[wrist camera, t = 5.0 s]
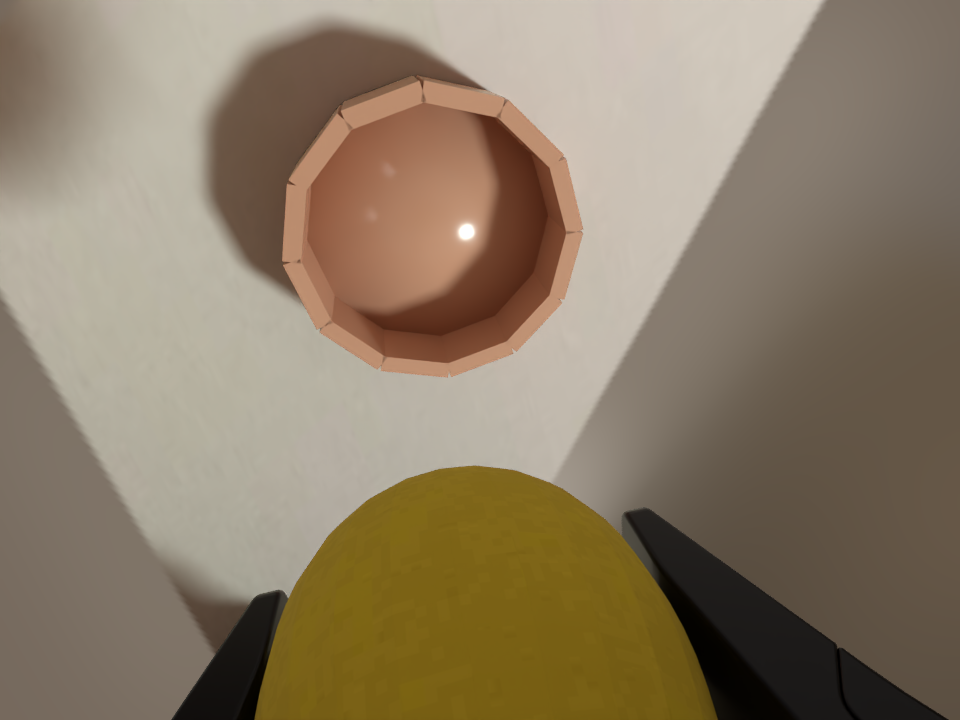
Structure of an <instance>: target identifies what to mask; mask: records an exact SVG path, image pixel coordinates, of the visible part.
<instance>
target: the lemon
mask: <svg viewBox="0 0 960 720" xmlns="http://www.w3.org/2000/svg"><path fill="white" fill-rule="evenodd" d="M255 720H718V718H717V715H716V712H715V708H714V705H713V702H712V699H711V695H710V692H709V689H708V686H707V683H706V680H705V678H704V675H703V672H702V670H701V667H700V664H699V662H698V659H697V656H696V654H695V652H694V649H693V647H692V645H691V643H690V641H689V638H688V636H687V634H686V632H685V630H684V627H683V626H682V624H681V622H680V620H679V618H678V617H677V615H676V613H675V611H674V609H673V608H672V606H671V604H670V602H669V601H668V599H667V598H666V596H665V595H664V593H663V592H662V590H661V589H660V587H659V586H658V584H657V583H656V581H655V580H654V578H653V577H652V575H651V574H650V573H649V571H648V570H647V569H646V567H645V566H644V564H643V563H642V562H641V560H640V559H639V558H638V556H637V555H636V553H635V552H634V551H633V550H632V548H631V547H630V546H629V545H628V543H627V542H626V541H625V540H624V538H623V537H622V536H621V535H620V534H619V533H618V532H617V531H616V530H615V529H614V528H613V527H612V526H611V525H610V524H609V523H608V522H607V521H606V520H605V519H604V518H603V517H601V516H600V515H599V514H597V513H596V512H595V511H593V510H592V509H590V508H589V507H588V506H586V505H585V504H583V503H582V502H581V501H579V500H578V499H576V498H575V497H574V496H572V495H571V494H569V493H568V492H566V491H565V490H563V489H562V488H560V487H558V486H555V485H553V484H551V483H549V482H546V481H544V480H541V479H538V478H535V477H532V476H530V475H527V474H524V473H521V472H518V471H514V470H508V469H500V468H491V467H482V466H465V467H455V468H444V469H438V470H435V471H431V472H428V473H424V474H421V475H418V476H414V477H411V478H407V479H405V480H403V481H402V482H400V483H398V484H396V485H394V486H392V487H390V488H388V489H387V490H385V491H383V492H381V493H379V494H377V495H375V496H374V497H372V498H370V499H369V500H367V501H366V502H365V503H364V504H362V505H361V506H360V507H359V508H358V509H357V510H356V511H354V512H353V513H352V514H351V515H350V516H349V517H347V518H346V519H345V520H344V521H343V522H342V523H341V524H340V525H339V526H338V527H337V528H336V529H335V530H334V531H333V532H332V533H331V534H330V535H329V536H328V537H327V538H326V540H325V541H324V543H323V544H322V546H321V547H320V549H319V550H318V552H317V553H316V555H315V556H314V558H313V559H312V561H311V562H310V563H309V565H308V566H307V568H306V569H305V571H304V572H303V574H302V575H301V577H300V578H299V580H298V581H297V583H296V585H295V587H294V589H293V591H292V593H291V595H290V597H289V599H288V601H287V603H286V605H285V608H284V610H283V613H282V616H281V619H280V621H279V624H278V627H277V630H276V633H275V637H274V641H273V644H272V648H271V652H270V655H269V659H268V663H267V667H266V670H265V674H264V678H263V682H262V685H261V689H260V693H259V699H258V704H257V709H256V714H255Z"/></svg>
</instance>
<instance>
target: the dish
mask: <svg viewBox="0 0 960 720" xmlns="http://www.w3.org/2000/svg"><path fill="white" fill-rule="evenodd" d="M563 155H564V154H563V153H562V152H561V151H560V150H558V149H557V148H556V147H555V146H554V145H553V144H552V143H551V142H550V141H549V140H548V139H547V138H546V137H545V136H544V135H543V134H542V133H541V132H540V131H539V130H538V129H537V128H536V127H535V126H534V125H533V124H532V123H531V122H530V121H529V120H528V119H527V118H526V117H525V116H524V115H523V114H522V113H521V112H520V111H519V110H518V109H517V108H516V107H515V106H514V105H513V104H512V103H511V102H510V101H509V100H507V99H505V98H504V97H502V96H499V95H497V94H494V93H492V92H490V91H487V90H483V89H478V88H474V87H469V86H464V85H460V84H455V83H451V82H446V81H441V80H437V79H432V78H428V77H423V76H418V75H417V76H416V78H415V77H414V76H413V75H412V76H410V77H407V78H404V79H402V80H399V81H396V82H394V83H391V84H389V85H386V86H383V87H381V88H378V89H375V90H373V91H370V92H367V93H365V94H362V95H360V96H357V97H354V98H352V99H349V100H346V101H344V102H343V105H341V104H340V105H339V107H338V108H337V109H336V111H335V112H334V113H333V115H332V116H331V117H330V119H329V120H328V122H327V123H326V124H325V126H324V127H323V128H322V130H321V131H320V133H319V134H318V135H317V137H316V138H315V139H314V141H313V142H312V143H311V145H310V146H309V148H308V149H307V150H306V152H305V153H304V154H303V156H302V157H301V159H300V160H299V161H298V163H297V165H296V166H295V168H294V170H293V172H292V174H291V176H290V178H289V181H288V183H287V189H286V205H285V221H284V237H283V253H282V261H284V264H283V266H284V268H285V270H286V272H287V274H288V276H289V278H290V280H291V282H292V283H293V285H294V287H295V289H296V291H297V293H298V295H299V297H300V299H301V300H302V302H303V304H304V306H305V308H306V310H307V312H308V314H309V316H310V318H311V319H312V321H313V323H314V325H315V327H316V329H319V328H320V333H321V334H323V335H324V336H326V337H328V338H329V339H331V340H332V341H334V342H335V343H337V344H338V345H340V346H341V347H343V348H345V349H346V350H348V351H349V352H351V353H352V354H354V355H355V356H357V357H359V358H360V359H362V360H363V361H365V362H366V363H368V364H369V365H371V366H372V367H374V368H376V369H378V368H379V367H380V366H381V371H387V372H397V373H407V374H417V375H428V376H438V377H448V373H449V372H450V375H451V377H452V376H455V375H458V374H460V373H463V372H466V371H468V370H471V369H474V368H476V367H479V366H482V365H484V364H487V363H490V362H493V361H495V360H498V359H501V358H503V357H506V356H509V355H511V354H513V351H512V349H514V350H515V351H516V352H517V351H518V349H519V348H520V347H521V346H522V345H523V344H524V343H525V342H526V341H527V340H528V339H529V338H530V337H531V336H532V335H533V334H534V332H535V331H536V330H537V329H538V328H539V327H540V326H541V325H542V324H543V323H544V322H545V321H546V320H547V319H548V318H549V317H550V315H551V314H552V313H553V312H554V311H555V310H556V309H557V308H558V307H559V306H560V305H561V304H562V302H561V300H560V299H565V295H566V292H567V288H568V285H569V281H570V278H571V274H572V270H573V267H574V263H575V260H576V256H577V253H578V249H579V246H580V242H581V239H582V235H583V233H582V232H581V231H580V230H582V229H583V226H582V222H581V218H580V214H579V210H578V206H577V202H576V198H575V194H574V190H573V186H572V181H571V177H570V173H569V169H568V165H567V161H566V158H564V157H563Z"/></svg>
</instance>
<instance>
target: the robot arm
mask: <svg viewBox="0 0 960 720" xmlns="http://www.w3.org/2000/svg"><path fill="white" fill-rule="evenodd" d="M622 537H623V538H624V540H625V541H626V542H627V543H628V545H629V546H630V547H631V548H632V550H633V551H634V552H635V553H636V555H637V556H638V558H639V559H640V560H641V562H642V563H643V564H644V566H645V567H646V569H647V570H648V571H649V573H650V574H651V575H652V577H653V578H654V580H655V581H656V583H657V584H658V586H659V587H660V589H661V590H662V592H663V593H664V595H665V596H666V598H667V599H668V601H669V602H670V604H671V606H672V608H673V609H674V611H675V613H676V615H677V617H678V618H679V620H680V622H681V624H682V626H683V627H684V630H685V632H686V634H687V636H688V638H689V641H690V643H691V645H692V647H693V649H694V652H695V654H696V656H697V659H698V662H699V664H700V667H701V670H702V672H703V675H704V678H705V680H706V683H707V686H708V689H709V692H710V695H711V699H712V702H713V705H714V708H715V712H716V715H717V718H718V720H948V719H947V718H945V717H944V716H942V715H941V714H939V713H937V712H936V711H934V710H933V709H931V708H929V707H928V706H926V705H925V704H923V703H922V702H920V701H918V700H917V699H915V698H914V697H912V696H911V695H909V694H907V693H906V692H904V691H903V690H902V689H900V688H899V687H897V686H896V685H894V684H893V683H891V682H890V681H888V680H887V679H886V678H884V677H883V676H881V675H880V674H878V673H877V672H875V671H874V670H873V669H871V668H870V667H868V666H867V665H865V664H864V663H862V662H861V661H860V660H858V659H857V658H855V657H854V656H853V655H851V654H850V653H849V652H847V651H846V650H845V649H843V648H838V649H837V644H836V643H835V642H833V641H832V640H830V639H829V638H828V637H826V636H825V635H823V634H822V633H821V632H819V631H818V630H817V629H815V628H814V627H812V626H811V625H810V624H808V623H807V622H805V621H804V620H803V619H801V618H800V617H798V616H797V615H796V614H794V613H793V612H792V611H790V610H789V609H787V608H786V607H785V606H783V605H782V604H780V603H779V602H777V601H776V600H775V599H774V598H772V597H771V596H769V595H768V594H766V593H765V592H764V591H762V590H761V589H760V588H758V587H757V586H756V585H754V584H753V583H751V582H750V581H748V580H747V579H746V578H744V577H743V576H742V575H740V574H739V573H738V572H736V571H735V570H733V569H732V568H731V567H729V566H728V565H726V564H725V563H723V562H722V561H721V560H719V559H718V558H717V557H715V556H714V555H713V554H711V553H710V552H708V551H707V550H706V549H704V548H703V547H701V546H700V545H699V544H697V543H696V542H695V541H693V540H692V539H690V538H689V537H688V536H686V535H685V534H683V533H682V532H681V531H679V530H678V529H677V528H675V527H674V526H672V525H671V524H670V523H668V522H667V521H665V520H664V519H663V518H661V517H660V516H659V515H657V514H656V513H654V512H653V511H652V510H650V509H648V508H645V507H643V508H638V509H634V510H629V511H626V512H624V513H623V515H622ZM287 601H288V598H287V596H286V594H285V593H284V592H283V591H282V590H276V591H271V592H267V593H263V594H259V595H257V596H256V597H255V598H254V599H253V600H252V601H251V603H250V604H249V606H248V607H247V609H246V610H245V612H244V613H243V615H242V616H241V618H240V619H239V621H238V622H237V624H236V625H235V627H234V628H233V629H232V631H231V632H230V634H229V635H228V637H227V638H226V640H225V641H224V643H223V644H222V646H221V647H220V649H219V650H218V652H217V653H216V655H215V656H214V658H213V659H212V660H211V662H210V663H209V665H208V666H207V668H206V669H205V671H204V672H203V674H202V675H201V677H200V678H199V680H198V681H197V683H196V684H195V686H194V687H193V689H192V690H191V691H190V693H189V694H188V696H187V697H186V699H185V700H184V702H183V703H182V705H181V706H180V708H179V709H178V711H177V712H176V714H175V715H174V717H173V718H172V720H255V714H256V709H257V704H258V699H259V693H260V689H261V685H262V682H263V678H264V674H265V670H266V667H267V663H268V659H269V655H270V652H271V648H272V644H273V641H274V637H275V633H276V630H277V627H278V624H279V621H280V619H281V616H282V613H283V610H284V608H285V605H286V603H287Z"/></svg>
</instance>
